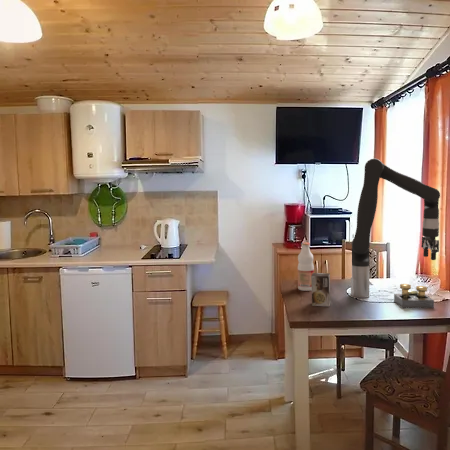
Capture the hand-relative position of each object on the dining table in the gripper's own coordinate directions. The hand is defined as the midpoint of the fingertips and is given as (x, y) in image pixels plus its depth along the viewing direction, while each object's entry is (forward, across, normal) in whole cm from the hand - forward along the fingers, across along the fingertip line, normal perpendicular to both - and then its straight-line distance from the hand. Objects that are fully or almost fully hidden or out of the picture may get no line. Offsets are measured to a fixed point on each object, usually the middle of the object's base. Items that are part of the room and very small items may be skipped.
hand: (429, 258), depth 209 cm
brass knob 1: (+20, +6, -14) cm, 25 cm away
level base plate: (+23, +6, -10) cm, 25 cm away
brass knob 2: (+21, +6, -6) cm, 22 cm away
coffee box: (+24, +3, -56) cm, 61 cm away
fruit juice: (+24, -27, -59) cm, 69 cm away
